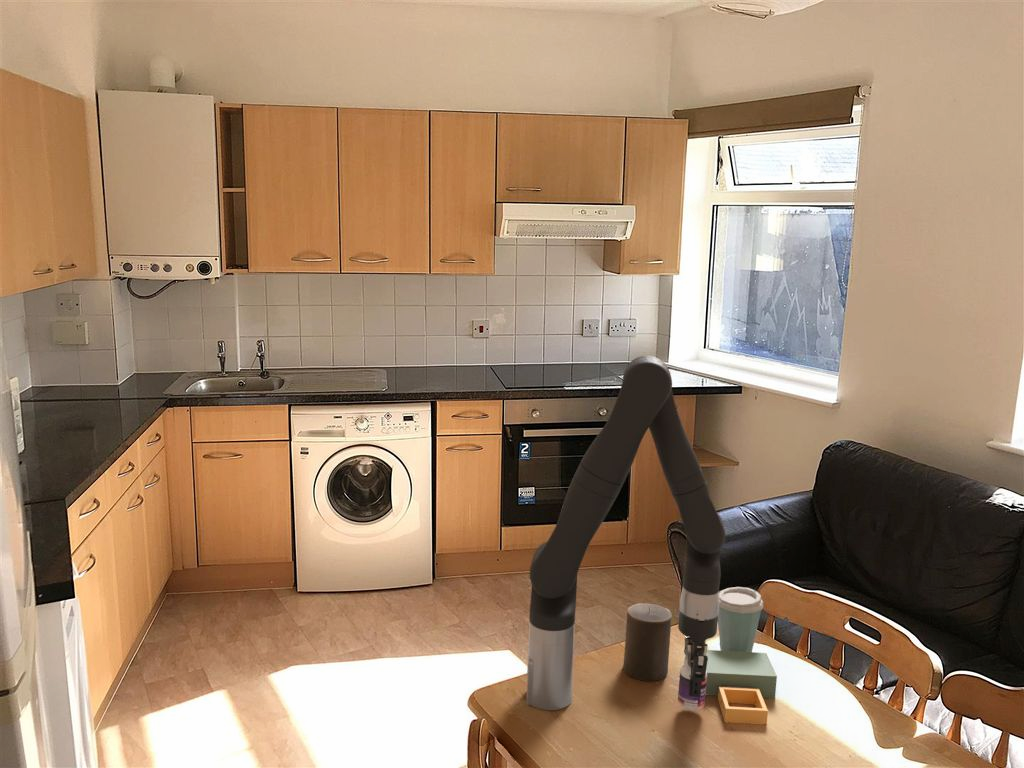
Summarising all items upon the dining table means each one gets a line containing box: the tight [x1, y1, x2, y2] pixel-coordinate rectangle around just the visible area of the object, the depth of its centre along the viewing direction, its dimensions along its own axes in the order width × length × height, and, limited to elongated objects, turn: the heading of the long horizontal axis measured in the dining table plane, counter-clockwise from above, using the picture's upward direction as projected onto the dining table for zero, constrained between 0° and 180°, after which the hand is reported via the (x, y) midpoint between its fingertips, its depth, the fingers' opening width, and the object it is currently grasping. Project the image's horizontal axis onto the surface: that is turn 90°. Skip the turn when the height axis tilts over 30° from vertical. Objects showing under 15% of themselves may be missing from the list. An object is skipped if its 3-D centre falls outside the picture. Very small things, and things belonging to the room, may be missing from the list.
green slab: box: [705, 649, 778, 726], centre depth 184 cm, size 16×20×5 cm
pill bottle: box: [677, 655, 707, 711], centre depth 177 cm, size 5×5×10 cm
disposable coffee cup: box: [717, 586, 764, 652], centre depth 201 cm, size 11×11×15 cm
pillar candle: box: [622, 603, 673, 682], centre depth 193 cm, size 10×10×15 cm
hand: (692, 687), depth 178 cm, fingers closed on pill bottle, 5 cm apart
